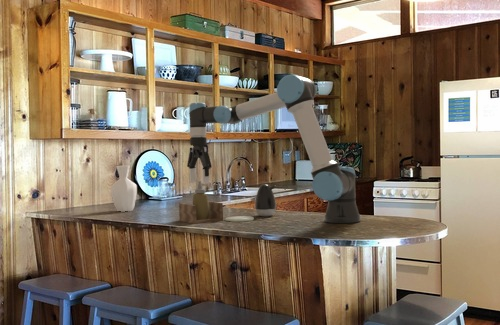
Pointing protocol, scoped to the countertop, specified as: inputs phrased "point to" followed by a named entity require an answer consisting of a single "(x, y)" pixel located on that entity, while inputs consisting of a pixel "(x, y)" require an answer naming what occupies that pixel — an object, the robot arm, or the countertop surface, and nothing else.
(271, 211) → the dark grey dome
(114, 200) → the vase
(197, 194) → the squeeze bottle
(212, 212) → the holder
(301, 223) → the countertop surface
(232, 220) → the plate
